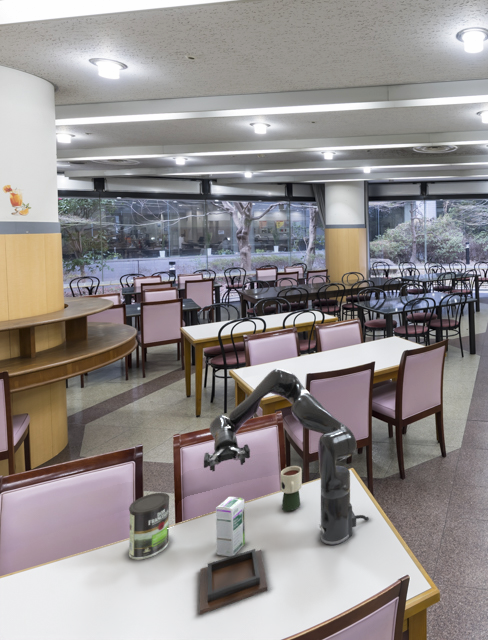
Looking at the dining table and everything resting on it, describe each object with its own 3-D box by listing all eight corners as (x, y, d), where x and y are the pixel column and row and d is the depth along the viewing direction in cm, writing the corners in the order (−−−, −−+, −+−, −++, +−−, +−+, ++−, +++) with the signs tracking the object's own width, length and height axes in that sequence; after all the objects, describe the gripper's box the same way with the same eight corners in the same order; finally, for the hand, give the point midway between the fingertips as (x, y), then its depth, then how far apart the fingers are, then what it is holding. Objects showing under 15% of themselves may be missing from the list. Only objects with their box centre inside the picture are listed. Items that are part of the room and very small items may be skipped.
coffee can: (176, 540, 136) (177, 495, 136) (145, 563, 126) (145, 515, 126) (153, 533, 139) (153, 489, 139) (120, 555, 129) (120, 508, 129)
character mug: (279, 501, 156) (280, 465, 156) (300, 497, 159) (300, 461, 159) (281, 519, 146) (281, 480, 146) (302, 514, 149) (302, 476, 149)
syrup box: (232, 557, 128) (232, 508, 128) (215, 554, 129) (215, 506, 130) (245, 544, 134) (245, 497, 134) (228, 542, 135) (228, 495, 135)
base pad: (260, 553, 130) (260, 543, 130) (267, 590, 116) (267, 579, 116) (200, 572, 123) (200, 561, 123) (199, 614, 108) (199, 602, 109)
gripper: (203, 439, 154) (203, 459, 140) (247, 430, 161) (251, 449, 147) (203, 460, 154) (203, 482, 140) (247, 450, 161) (251, 471, 147)
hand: (228, 465), depth 143 cm, fingers open, 8 cm apart
